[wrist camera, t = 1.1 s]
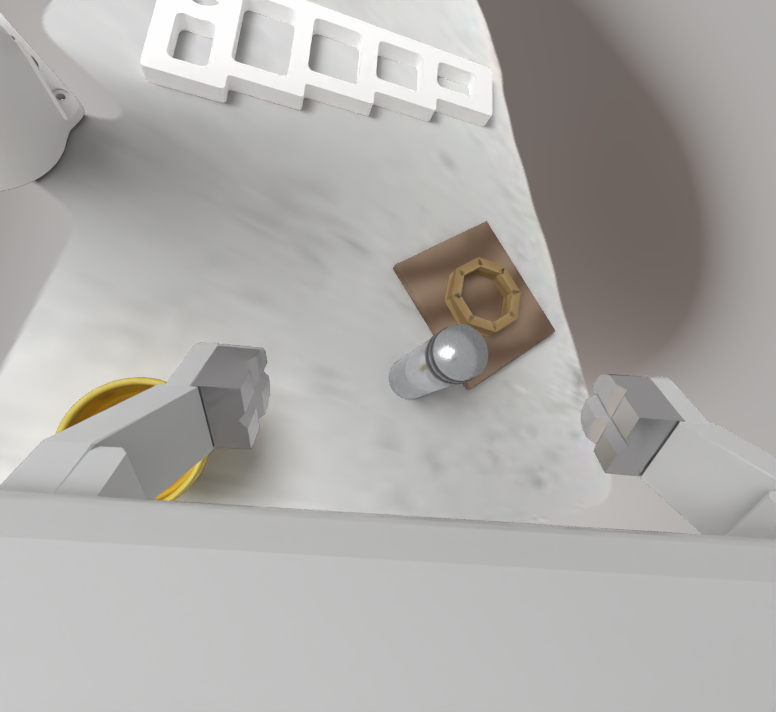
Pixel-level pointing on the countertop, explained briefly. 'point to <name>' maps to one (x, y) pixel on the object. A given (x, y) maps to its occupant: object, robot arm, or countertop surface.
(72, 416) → the plant pot
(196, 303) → the countertop surface
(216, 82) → the holder
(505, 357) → the ring stand
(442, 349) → the piston
